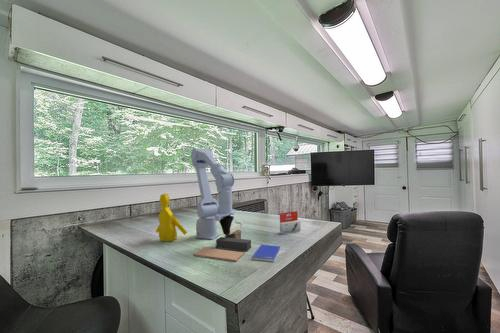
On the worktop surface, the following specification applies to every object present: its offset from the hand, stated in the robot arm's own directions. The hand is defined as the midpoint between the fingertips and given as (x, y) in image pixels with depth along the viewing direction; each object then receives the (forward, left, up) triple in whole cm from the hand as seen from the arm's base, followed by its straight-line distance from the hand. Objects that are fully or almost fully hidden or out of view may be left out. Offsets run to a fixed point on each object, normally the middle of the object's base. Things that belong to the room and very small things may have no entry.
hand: (226, 233), depth 91 cm
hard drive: (+19, -4, -6) cm, 20 cm away
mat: (+2, -10, -5) cm, 11 cm away
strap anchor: (0, +6, -5) cm, 8 cm away
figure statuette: (-30, -2, -5) cm, 30 cm away
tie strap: (0, +8, -1) cm, 8 cm away
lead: (+4, -2, -5) cm, 7 cm away
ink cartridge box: (+22, +26, -5) cm, 35 cm away
